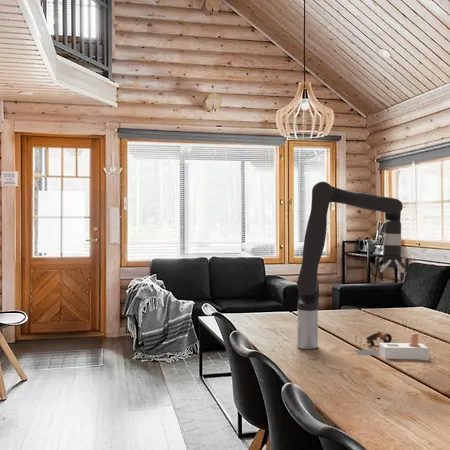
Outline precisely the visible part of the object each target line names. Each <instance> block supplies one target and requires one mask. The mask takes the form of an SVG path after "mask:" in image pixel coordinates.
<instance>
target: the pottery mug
mask: <svg viewBox="0 0 450 450" xmlns="http://www.w3.org/2000/svg"><path fill="white" fill-rule="evenodd" d="M378 338H379V339H380V340H381V341H382V342H383V343H392V341H393V337H392V335H391V334H390V333H385V334H383V333H382V332H381V331H378V332H375V333H373V334H371V335H369V336H367V337H366V338H365V339H366V344H370V345H372V346H374V345H375V341H378Z"/></svg>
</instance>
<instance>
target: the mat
mask: <svg viewBox="0 0 450 450" xmlns="http://www.w3.org/2000/svg"><path fill="white" fill-rule="evenodd" d="M354 351H355V353H356V354H357V355H358V356H380V354H379V353H378V351H376V350H374V349H369V350H368V349H354Z"/></svg>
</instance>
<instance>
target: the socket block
mask: <svg viewBox="0 0 450 450" xmlns="http://www.w3.org/2000/svg"><path fill="white" fill-rule="evenodd" d="M378 345H379V350H378V352H379V353H378V354H379V356H381V357H382V358H383V359H387V360H391V359H392V360H394V359H395V360H422V361H429V360H430V359H429V357H430V348H429V347H428V346H427V345H425V344H423V343H419V342H418V347H411V342H410V343H409V342H406V343H405V342H390V343H384V342H379V344H378Z"/></svg>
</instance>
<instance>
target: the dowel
mask: <svg viewBox="0 0 450 450" xmlns="http://www.w3.org/2000/svg"><path fill="white" fill-rule="evenodd" d="M410 343H411V347H418V343H419V333H415V332H410Z"/></svg>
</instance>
